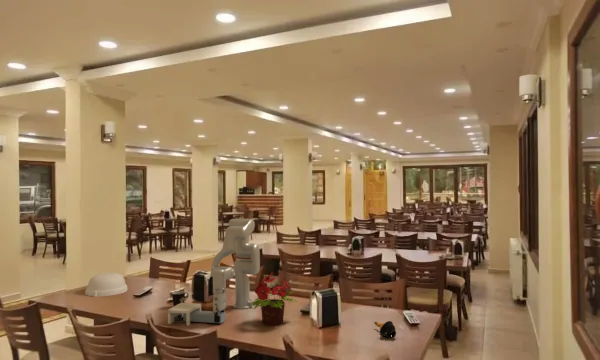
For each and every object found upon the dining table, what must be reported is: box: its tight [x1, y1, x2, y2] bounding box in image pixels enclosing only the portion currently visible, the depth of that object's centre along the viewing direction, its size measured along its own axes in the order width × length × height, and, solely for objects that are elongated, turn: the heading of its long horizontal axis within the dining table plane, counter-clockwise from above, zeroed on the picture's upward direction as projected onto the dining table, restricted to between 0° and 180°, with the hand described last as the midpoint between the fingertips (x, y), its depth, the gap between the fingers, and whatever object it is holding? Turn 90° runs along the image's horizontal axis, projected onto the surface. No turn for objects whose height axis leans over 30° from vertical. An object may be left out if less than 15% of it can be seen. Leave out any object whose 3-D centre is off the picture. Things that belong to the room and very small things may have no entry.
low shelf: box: [167, 302, 202, 326], centre depth 263 cm, size 14×16×8 cm
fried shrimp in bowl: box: [373, 320, 397, 339], centre depth 237 cm, size 9×11×18 cm
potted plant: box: [252, 271, 297, 327], centre depth 256 cm, size 30×27×30 cm
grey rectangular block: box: [182, 310, 226, 324], centre depth 260 cm, size 24×6×4 cm, turn 77°
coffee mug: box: [171, 290, 189, 307], centre depth 292 cm, size 12×9×10 cm
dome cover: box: [84, 272, 128, 298], centre depth 338 cm, size 32×30×14 cm
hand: (219, 320), depth 258 cm, fingers closed on grey rectangular block, 6 cm apart
